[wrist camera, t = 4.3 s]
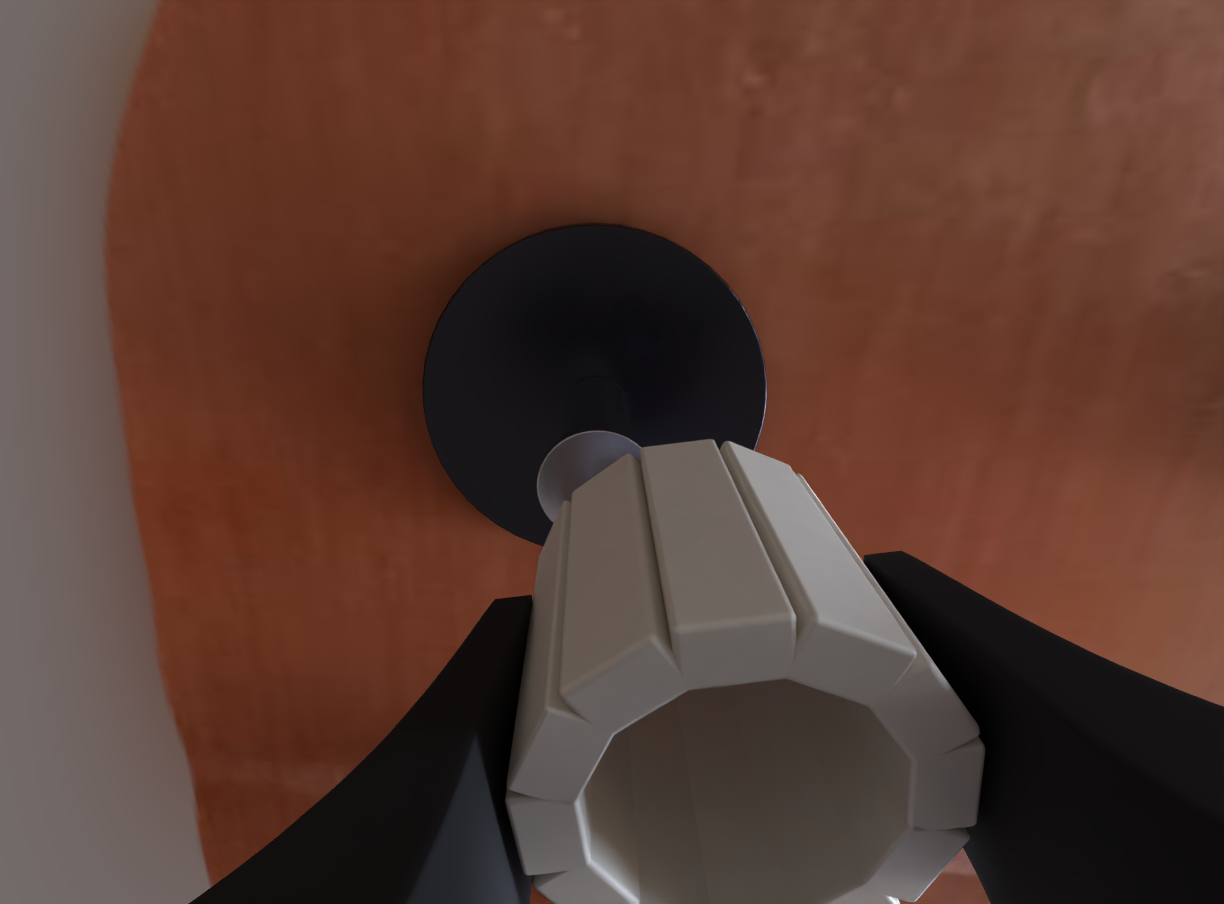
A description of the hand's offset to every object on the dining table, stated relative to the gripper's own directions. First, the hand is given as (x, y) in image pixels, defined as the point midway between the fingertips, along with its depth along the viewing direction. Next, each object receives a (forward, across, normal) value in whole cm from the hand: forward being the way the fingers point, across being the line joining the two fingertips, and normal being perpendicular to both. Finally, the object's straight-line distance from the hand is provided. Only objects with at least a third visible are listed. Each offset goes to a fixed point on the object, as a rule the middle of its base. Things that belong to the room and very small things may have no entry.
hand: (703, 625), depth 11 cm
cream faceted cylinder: (+1, 0, 0) cm, 1 cm away
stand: (+10, +2, -1) cm, 10 cm away
